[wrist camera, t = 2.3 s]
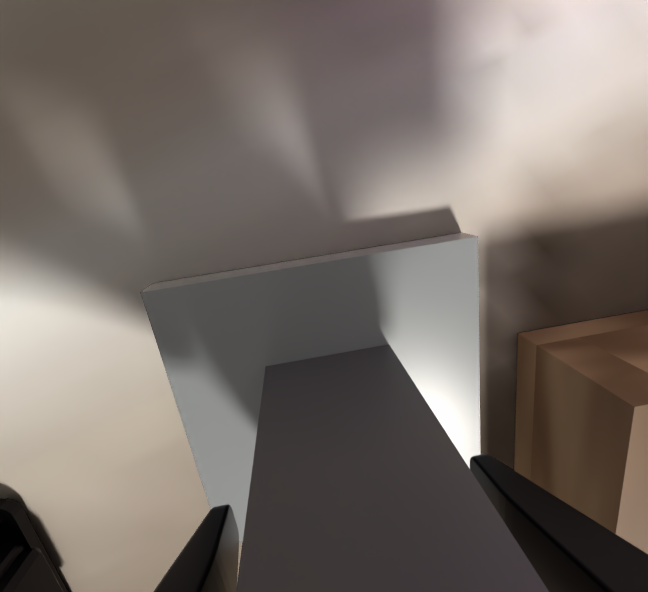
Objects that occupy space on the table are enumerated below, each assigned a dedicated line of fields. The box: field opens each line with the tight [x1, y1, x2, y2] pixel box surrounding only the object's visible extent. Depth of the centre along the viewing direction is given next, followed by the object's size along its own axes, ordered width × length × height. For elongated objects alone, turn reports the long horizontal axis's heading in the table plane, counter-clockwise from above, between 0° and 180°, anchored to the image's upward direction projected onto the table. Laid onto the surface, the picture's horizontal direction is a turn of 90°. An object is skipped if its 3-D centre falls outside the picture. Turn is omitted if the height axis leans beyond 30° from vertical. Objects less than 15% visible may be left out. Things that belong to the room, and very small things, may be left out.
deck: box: [141, 233, 480, 542], centre depth 12 cm, size 10×10×1 cm
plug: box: [236, 344, 549, 592], centre depth 7 cm, size 4×4×10 cm
